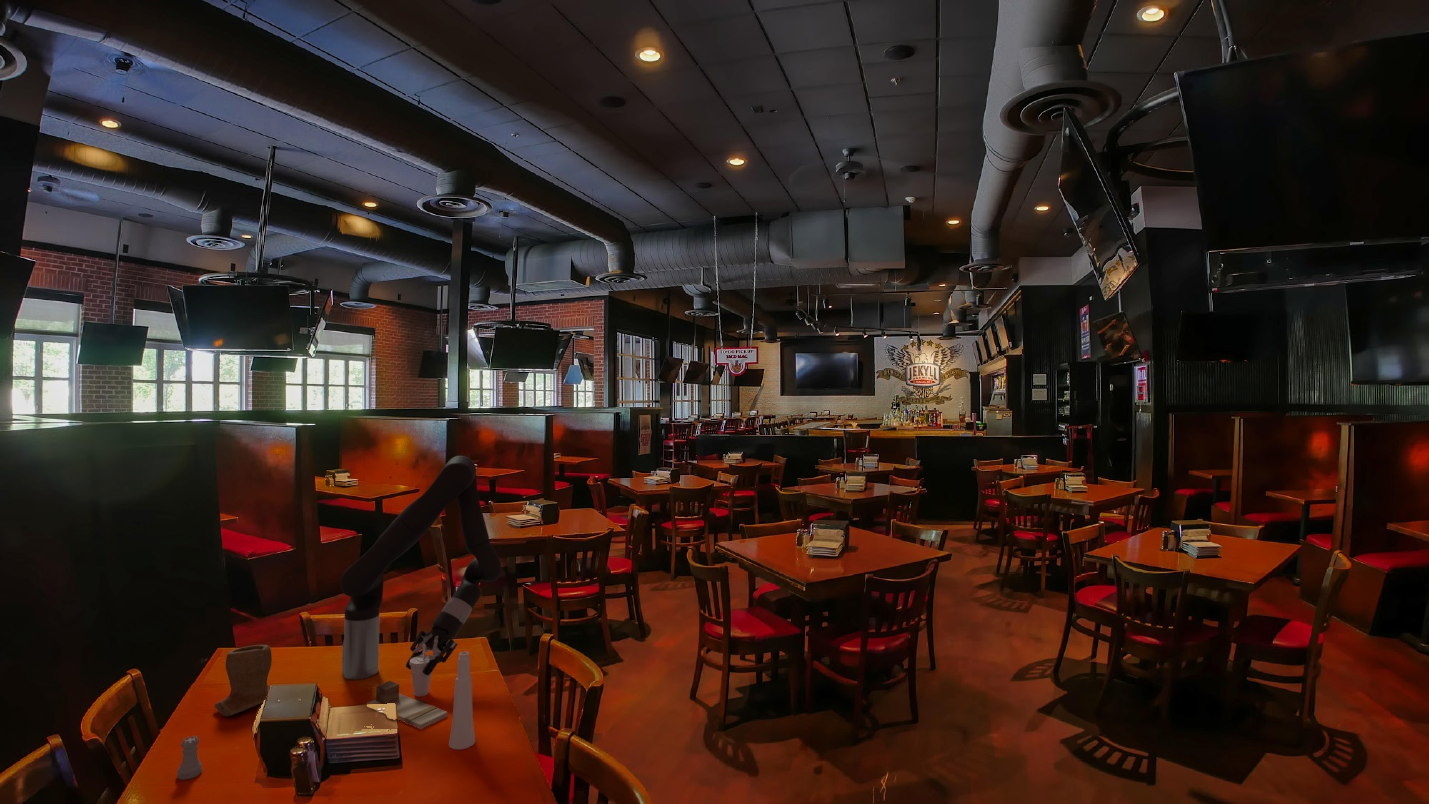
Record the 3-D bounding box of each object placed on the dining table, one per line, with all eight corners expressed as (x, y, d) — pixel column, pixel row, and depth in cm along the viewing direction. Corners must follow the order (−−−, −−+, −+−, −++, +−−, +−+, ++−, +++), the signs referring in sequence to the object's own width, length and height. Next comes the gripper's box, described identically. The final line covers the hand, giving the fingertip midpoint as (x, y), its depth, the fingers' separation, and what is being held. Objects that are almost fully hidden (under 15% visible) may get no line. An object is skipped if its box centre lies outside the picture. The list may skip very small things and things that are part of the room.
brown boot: (257, 689, 187) (258, 636, 187) (288, 697, 183) (289, 642, 183) (199, 713, 173) (200, 655, 173) (231, 722, 169) (232, 663, 169)
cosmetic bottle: (445, 741, 162) (447, 651, 162) (470, 734, 166) (472, 646, 166) (452, 752, 157) (454, 660, 157) (478, 745, 161) (480, 654, 161)
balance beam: (363, 708, 178) (364, 689, 178) (396, 694, 186) (396, 676, 186) (417, 730, 167) (418, 710, 167) (449, 715, 175) (450, 695, 175)
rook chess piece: (186, 769, 148) (186, 733, 148) (207, 769, 148) (207, 733, 148) (171, 781, 143) (171, 744, 143) (193, 780, 144) (194, 743, 144)
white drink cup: (424, 699, 183) (425, 649, 183) (403, 697, 185) (404, 646, 185) (438, 689, 190) (439, 640, 190) (418, 687, 191) (419, 638, 191)
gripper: (428, 606, 197) (391, 659, 187) (462, 615, 190) (425, 670, 180) (443, 619, 202) (408, 671, 192) (476, 628, 195) (441, 683, 185)
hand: (416, 671), depth 186 cm, fingers open, 6 cm apart
